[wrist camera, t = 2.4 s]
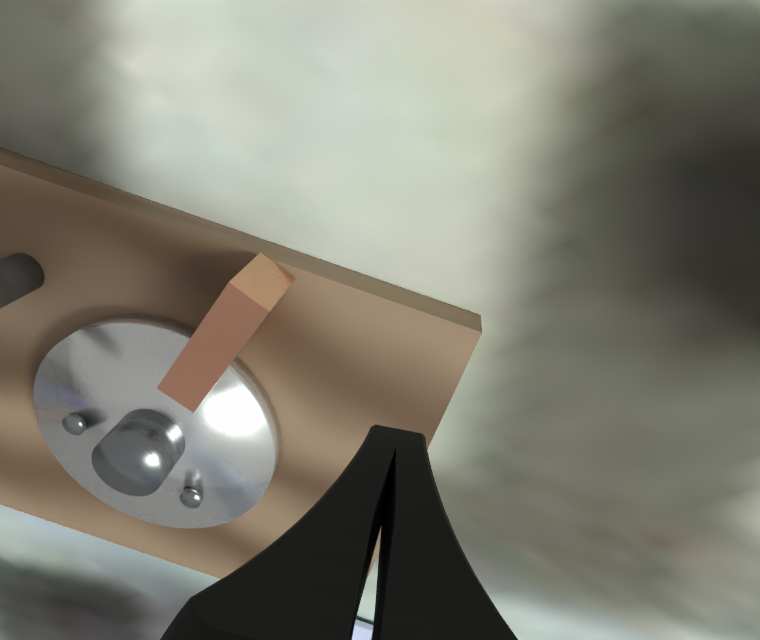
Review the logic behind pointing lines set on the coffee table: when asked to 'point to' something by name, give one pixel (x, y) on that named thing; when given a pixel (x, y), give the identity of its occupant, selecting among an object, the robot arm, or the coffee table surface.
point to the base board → (189, 307)
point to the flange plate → (167, 408)
